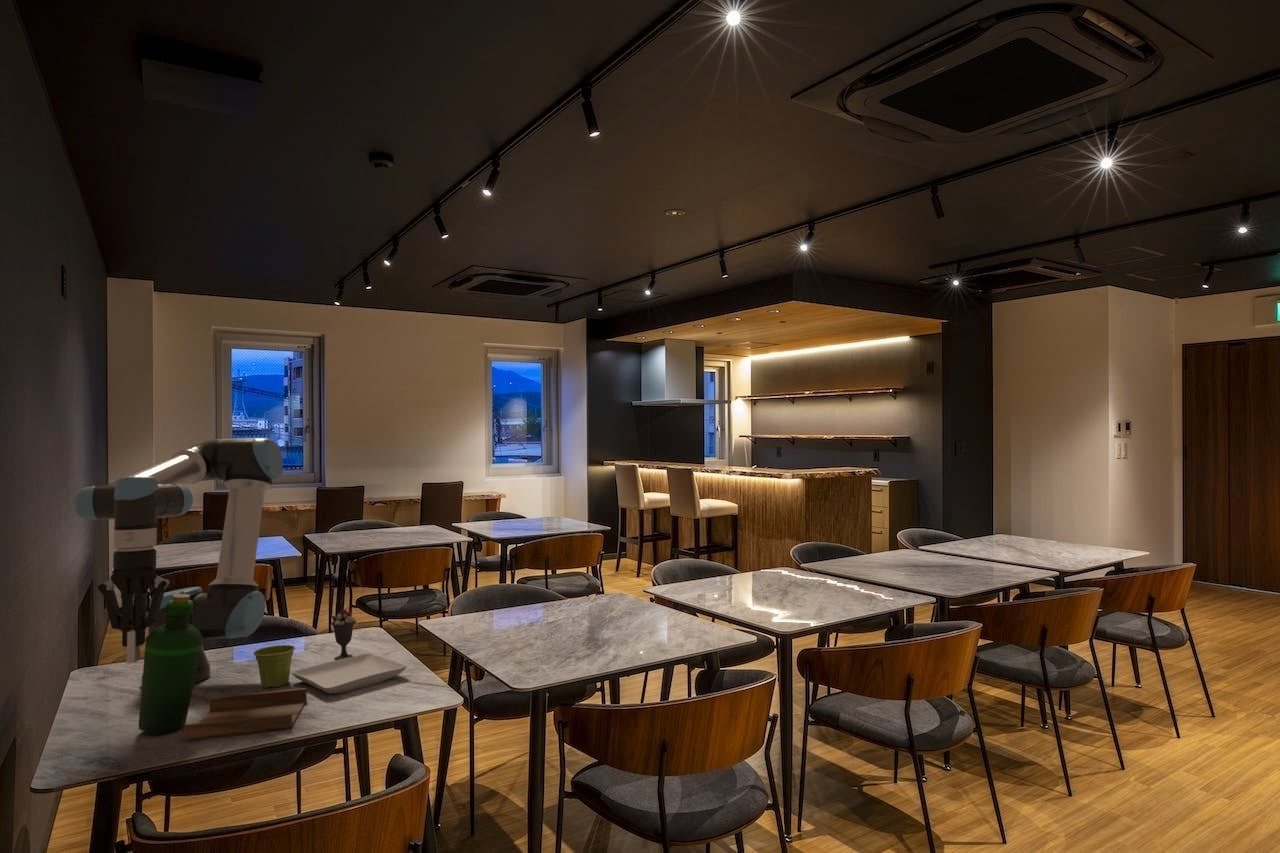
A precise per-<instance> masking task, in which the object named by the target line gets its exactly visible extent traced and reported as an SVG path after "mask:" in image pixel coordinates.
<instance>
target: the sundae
mask: <svg viewBox="0 0 1280 853" xmlns="http://www.w3.org/2000/svg"><path fill="white" fill-rule="evenodd" d="M352 605H353V604H352V603H349V604H348V606H347V607H346V608H345V609H343V610H342V611H341V612H340V613H338V614H337V615H336V616H334V615H331V618H332V622H330V623H329V624H330V625H331V626H332V627H333V630H334V639H335V642H336V643H337V645H339V646H340V647H341V652H340V654H339V655H338V656H336V657H334V661H335V660H340V659H344V658H349V657H354V655H353V654H348V652H347V645H348V644H349V643H350V642H352V636H353V631H354V630H353V629H354V625H355V624H356V623H357V620H356V619H355V618H354V616H353V615H352V612H351V611H350V608H351V606H352Z"/></svg>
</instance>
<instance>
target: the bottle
mask: <svg viewBox="0 0 1280 853" xmlns="http://www.w3.org/2000/svg"><path fill="white" fill-rule="evenodd" d="M172 596H173V600H170V601H168V602H167V605H166V608H165V610H164V613H165V614H167V620H166V624H164V625H162V626H160V627H158V628H156V629H155V630H153V631H152V632H151V633H150V634H149V633H148V635H147V636H145V643H144V645H145V647H144V658H143V669H142V674H143V678H142V677H141V678H142V679H141V691H140V705H139V713H138V714H139V715H138V716H139V717H138V730H140V731H143V732H145V733H148V734H157V735H159V734H165V733H171V732H174V731H176V730H179V729H181V728H182V727H183V726H185V725H186V722H187V717H188V714H189V708H190V704H191V703H190V702H191V699H192V694H193V690H194V685H195V683H194V681H195V676H196V671H197V666H198V662H199V657H200V652H201V647H202V646H203V642H204V639H203V637H202V635H201V633H200V631H199V630H198V629H197V628H196V627H194V626H192V625H190V624H188V621H189V617H190V614H192V613H194V612H193V602H192V601H191V600H189V598H190V595H188V594H175V595H172Z"/></svg>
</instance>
